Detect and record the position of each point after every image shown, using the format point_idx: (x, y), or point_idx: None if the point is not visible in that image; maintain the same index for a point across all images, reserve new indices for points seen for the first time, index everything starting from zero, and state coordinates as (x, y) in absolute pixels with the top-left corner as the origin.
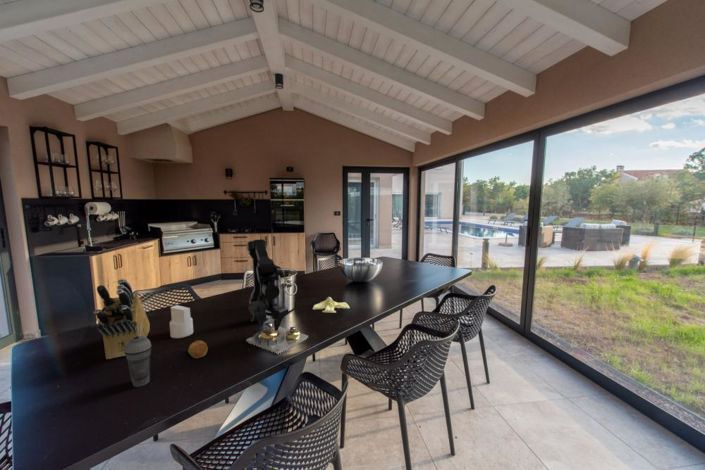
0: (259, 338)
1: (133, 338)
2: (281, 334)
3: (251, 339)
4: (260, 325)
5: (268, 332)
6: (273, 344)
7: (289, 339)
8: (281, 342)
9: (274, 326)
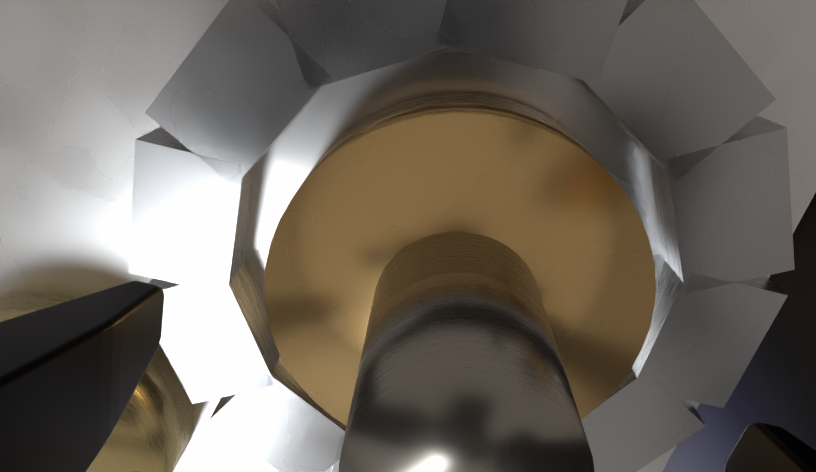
0: (622, 164)
1: None
2: (238, 379)
3: (782, 62)
4: (778, 435)
5: (408, 263)
6: (159, 23)
7: (27, 296)
8: (82, 159)
9: (54, 345)
